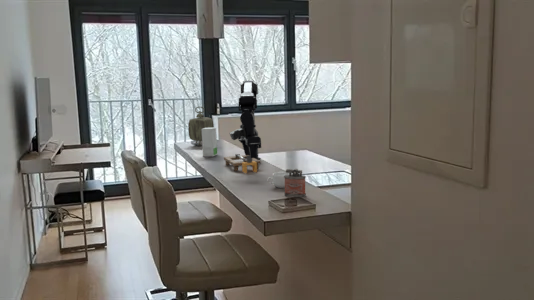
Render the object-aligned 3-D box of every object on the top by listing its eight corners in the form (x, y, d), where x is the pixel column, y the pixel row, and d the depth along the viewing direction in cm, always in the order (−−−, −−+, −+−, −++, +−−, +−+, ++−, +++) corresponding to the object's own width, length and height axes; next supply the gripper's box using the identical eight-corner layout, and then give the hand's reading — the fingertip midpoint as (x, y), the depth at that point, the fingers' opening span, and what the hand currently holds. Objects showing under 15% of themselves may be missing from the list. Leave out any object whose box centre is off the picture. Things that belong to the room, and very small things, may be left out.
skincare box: (213, 156, 280) (212, 128, 277) (202, 156, 281) (200, 128, 279) (217, 154, 288) (216, 127, 285) (206, 154, 289) (205, 127, 287)
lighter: (306, 195, 187) (306, 168, 186) (304, 197, 184) (304, 170, 182) (286, 194, 190) (285, 167, 188) (283, 196, 187) (282, 169, 185)
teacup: (288, 184, 207) (288, 171, 206) (294, 188, 199) (294, 174, 198) (265, 186, 204) (264, 173, 203) (270, 190, 197) (270, 176, 196)
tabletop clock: (214, 145, 326) (212, 106, 322) (207, 147, 318) (205, 107, 314) (195, 144, 332) (193, 106, 328) (187, 146, 323) (185, 107, 320)
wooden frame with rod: (224, 164, 254) (223, 157, 254) (248, 162, 258) (248, 155, 258) (234, 171, 236) (233, 163, 235) (260, 169, 240) (260, 161, 239)
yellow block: (242, 171, 235) (241, 155, 234) (254, 170, 237) (254, 154, 236) (244, 173, 231) (243, 157, 230) (257, 172, 233) (256, 156, 232)
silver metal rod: (235, 156, 254) (235, 154, 253) (239, 156, 254) (239, 153, 254) (243, 162, 239) (243, 159, 238) (248, 161, 239) (247, 158, 239)
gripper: (225, 121, 237) (227, 154, 239) (236, 125, 219) (237, 161, 222) (248, 120, 240) (249, 153, 243) (260, 124, 223) (261, 159, 225)
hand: (249, 156), depth 233 cm, fingers open, 9 cm apart
